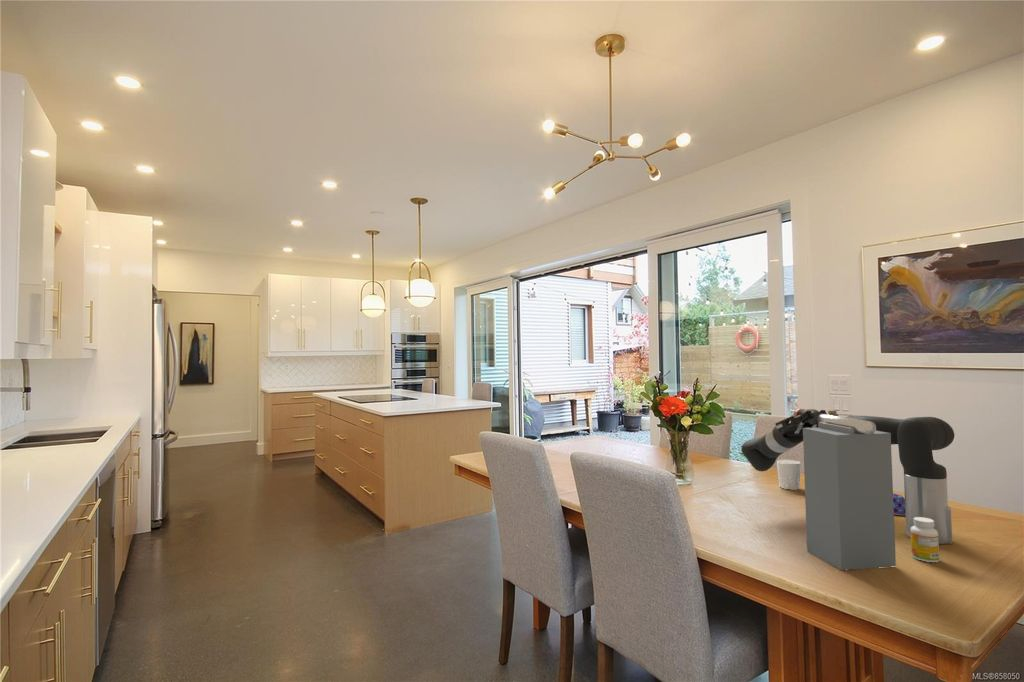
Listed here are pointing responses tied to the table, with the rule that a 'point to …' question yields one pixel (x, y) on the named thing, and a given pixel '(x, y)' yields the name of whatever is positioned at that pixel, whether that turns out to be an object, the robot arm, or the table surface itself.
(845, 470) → the tall grey box
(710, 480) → the table surface
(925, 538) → the supplement bottle
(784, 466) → the white cup
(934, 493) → the robot arm
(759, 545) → the table surface
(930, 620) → the table surface
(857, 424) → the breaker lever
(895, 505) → the pudding
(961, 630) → the table surface
